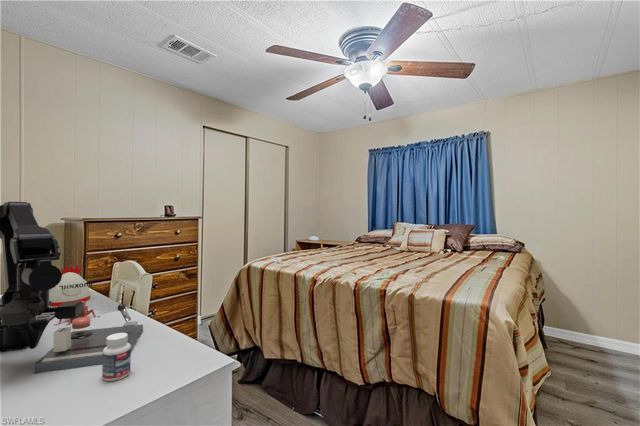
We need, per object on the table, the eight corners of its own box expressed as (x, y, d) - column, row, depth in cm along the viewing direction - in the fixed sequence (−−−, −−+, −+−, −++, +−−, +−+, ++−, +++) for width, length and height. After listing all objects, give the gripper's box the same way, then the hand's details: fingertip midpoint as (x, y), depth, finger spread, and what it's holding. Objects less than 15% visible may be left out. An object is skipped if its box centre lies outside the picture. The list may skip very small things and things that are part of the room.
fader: (53, 352, 74) (53, 332, 74) (59, 347, 77) (59, 327, 77) (65, 350, 75) (65, 331, 75) (70, 345, 78) (70, 326, 78)
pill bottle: (116, 383, 66) (116, 342, 66) (96, 380, 67) (96, 339, 67) (136, 370, 71) (136, 332, 71) (117, 368, 72) (117, 330, 72)
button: (69, 329, 83) (69, 322, 83) (75, 324, 87) (75, 317, 87) (86, 328, 84) (87, 320, 84) (92, 323, 88) (92, 316, 88)
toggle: (124, 323, 88) (115, 307, 87) (126, 321, 90) (117, 305, 89) (131, 319, 89) (122, 303, 88) (133, 317, 91) (124, 301, 90)
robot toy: (102, 319, 105) (102, 283, 104) (54, 329, 96) (54, 289, 96) (94, 309, 115) (95, 276, 115) (51, 317, 107) (51, 281, 107)
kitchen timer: (93, 301, 125) (93, 264, 125) (48, 309, 114) (49, 269, 114) (85, 294, 134) (85, 260, 134) (43, 301, 124) (43, 264, 124)
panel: (33, 373, 69) (34, 355, 69) (72, 338, 88) (72, 324, 88) (125, 360, 75) (125, 344, 75) (142, 330, 94) (142, 317, 94)
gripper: (-45, 295, 63) (-45, 370, 63) (64, 289, 70) (64, 357, 70) (-8, 283, 74) (-8, 348, 74) (84, 278, 80) (84, 338, 80)
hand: (33, 348), depth 74 cm, fingers closed
